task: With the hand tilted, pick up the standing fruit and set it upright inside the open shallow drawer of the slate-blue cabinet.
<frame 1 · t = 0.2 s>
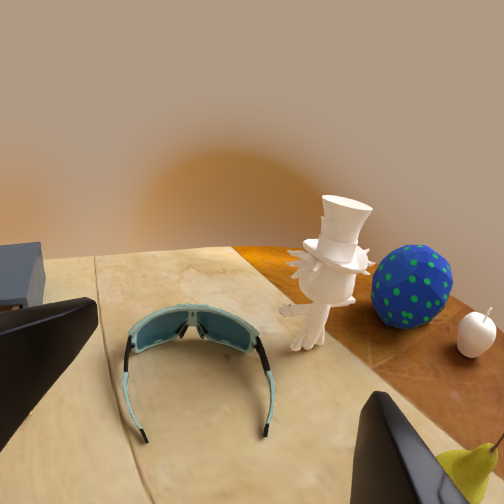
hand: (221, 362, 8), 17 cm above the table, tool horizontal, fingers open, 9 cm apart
sunglasses: (196, 384, 27), on the table
polka dot ball: (398, 320, 43), on the table
figurine: (305, 350, 34), on the table
plain white apple: (466, 352, 35), on the table
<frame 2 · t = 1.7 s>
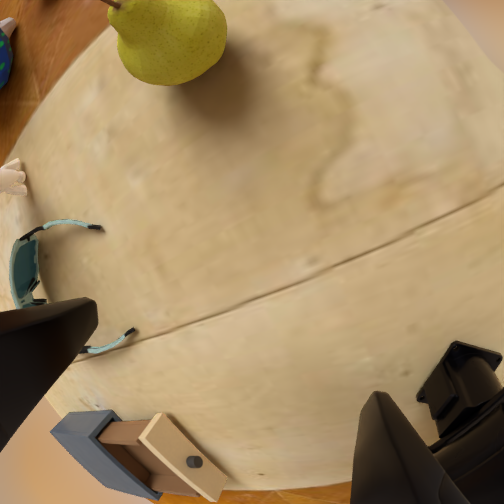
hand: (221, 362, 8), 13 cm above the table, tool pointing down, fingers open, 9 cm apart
sunglasses: (75, 284, 27), on the table
polka dot ball: (7, 62, 22), on the table
drawer: (154, 460, 29), point 3 cm above the table, slide at 10.0 cm
figurine: (26, 175, 25), on the table
cabinet: (116, 443, 36), on the table
fruit: (197, 53, 18), on the table
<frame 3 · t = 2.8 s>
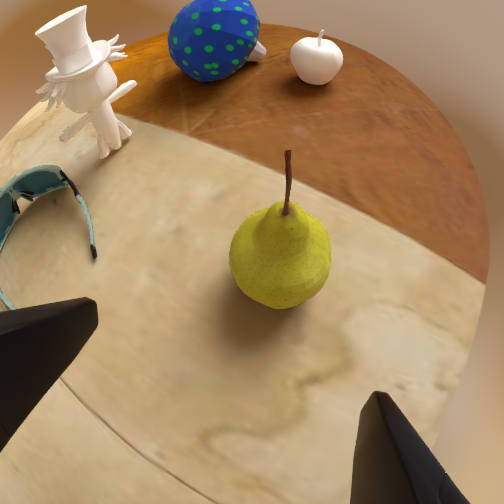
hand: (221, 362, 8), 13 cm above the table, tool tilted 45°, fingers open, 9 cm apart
sunglasses: (41, 243, 26), on the table
polka dot ball: (221, 71, 37), on the table
figurine: (118, 149, 31), on the table
plain white apple: (314, 79, 36), on the table
fruit: (277, 277, 24), on the table
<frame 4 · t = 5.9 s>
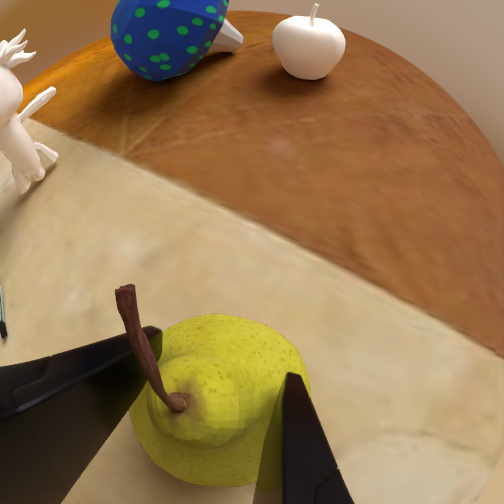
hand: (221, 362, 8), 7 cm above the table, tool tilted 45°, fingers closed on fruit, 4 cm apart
polka dot ball: (184, 66, 28), on the table
figurine: (43, 179, 21), on the table
plain white apple: (306, 73, 26), on the table
fruit: (230, 399, 14), on the table, touching gripper
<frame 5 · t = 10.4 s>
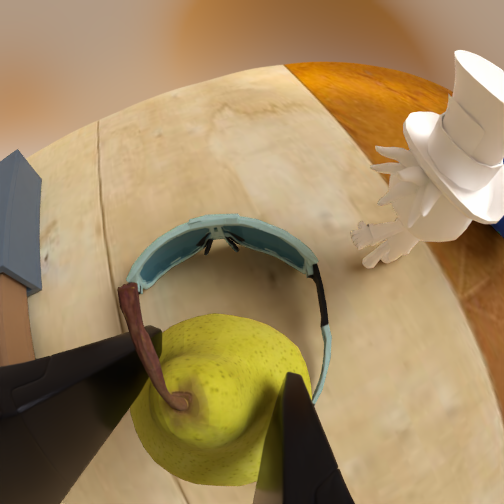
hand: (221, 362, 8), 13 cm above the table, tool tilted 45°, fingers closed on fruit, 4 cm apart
sunglasses: (228, 331, 22), on the table
figurine: (383, 259, 24), on the table
fruit: (231, 399, 14), point 6 cm above the table, touching gripper
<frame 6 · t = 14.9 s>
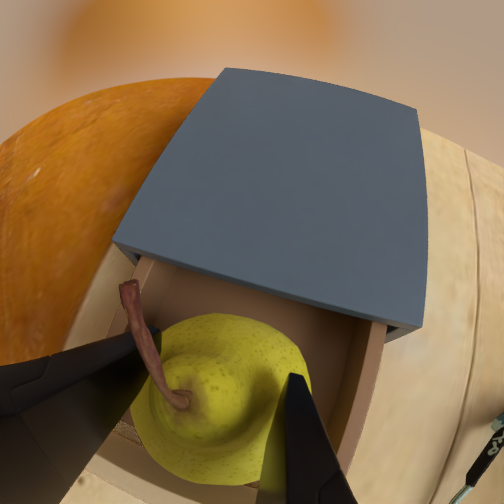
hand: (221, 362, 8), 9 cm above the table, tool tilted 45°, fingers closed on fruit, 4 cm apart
sunglasses: (501, 486, 10), on the table
drawer: (231, 389, 13), point 3 cm above the table, slide at 9.8 cm, touching fruit
cabinet: (292, 211, 20), on the table
fruit: (231, 399, 14), point 2 cm above the table, touching drawer, gripper
when the fingers open (9 cm above the table, at t = 14.9 s): fruit stays where it is, resting on drawer.
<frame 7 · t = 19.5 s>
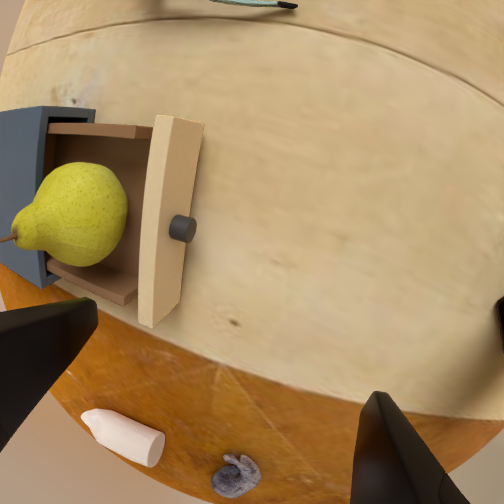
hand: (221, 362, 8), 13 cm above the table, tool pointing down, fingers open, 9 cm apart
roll: (127, 418, 33), on the table
seashell: (239, 466, 31), on the table
drawer: (98, 206, 19), point 3 cm above the table, slide at 9.8 cm, touching fruit
cabinet: (40, 180, 24), on the table
fruit: (114, 203, 20), point 2 cm above the table, touching drawer
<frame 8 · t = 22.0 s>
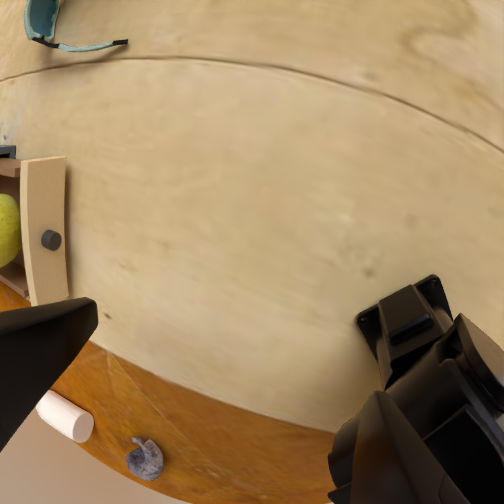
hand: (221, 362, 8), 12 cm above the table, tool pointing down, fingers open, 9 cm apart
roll: (66, 399, 35), on the table
seashell: (153, 451, 33), on the table
drawer: (11, 223, 21), point 3 cm above the table, slide at 9.8 cm, touching fruit
fruit: (23, 220, 23), point 2 cm above the table, touching drawer
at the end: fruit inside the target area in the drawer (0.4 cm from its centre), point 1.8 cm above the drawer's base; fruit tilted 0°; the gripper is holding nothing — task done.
